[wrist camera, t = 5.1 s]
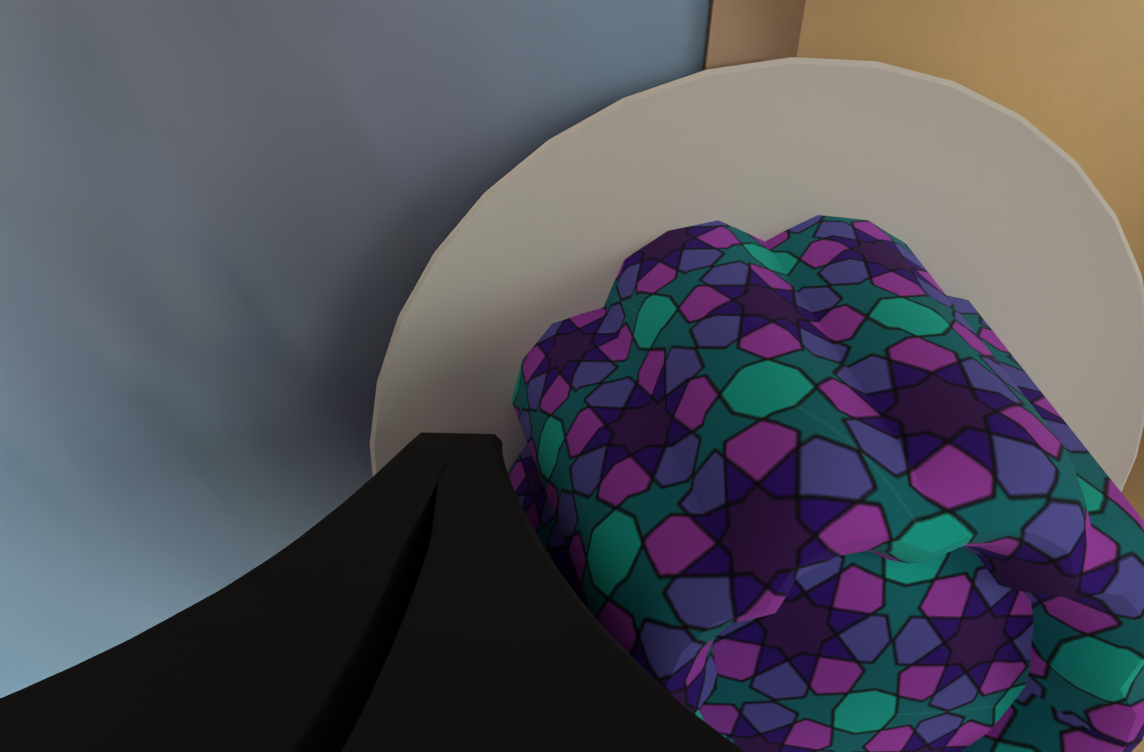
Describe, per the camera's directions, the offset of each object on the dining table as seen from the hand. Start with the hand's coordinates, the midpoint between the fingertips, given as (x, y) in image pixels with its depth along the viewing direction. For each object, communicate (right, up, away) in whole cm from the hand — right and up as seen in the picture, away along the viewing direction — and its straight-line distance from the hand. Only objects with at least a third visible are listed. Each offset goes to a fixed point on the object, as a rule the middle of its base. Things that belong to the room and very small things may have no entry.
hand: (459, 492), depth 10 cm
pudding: (+5, 0, +2) cm, 5 cm away
